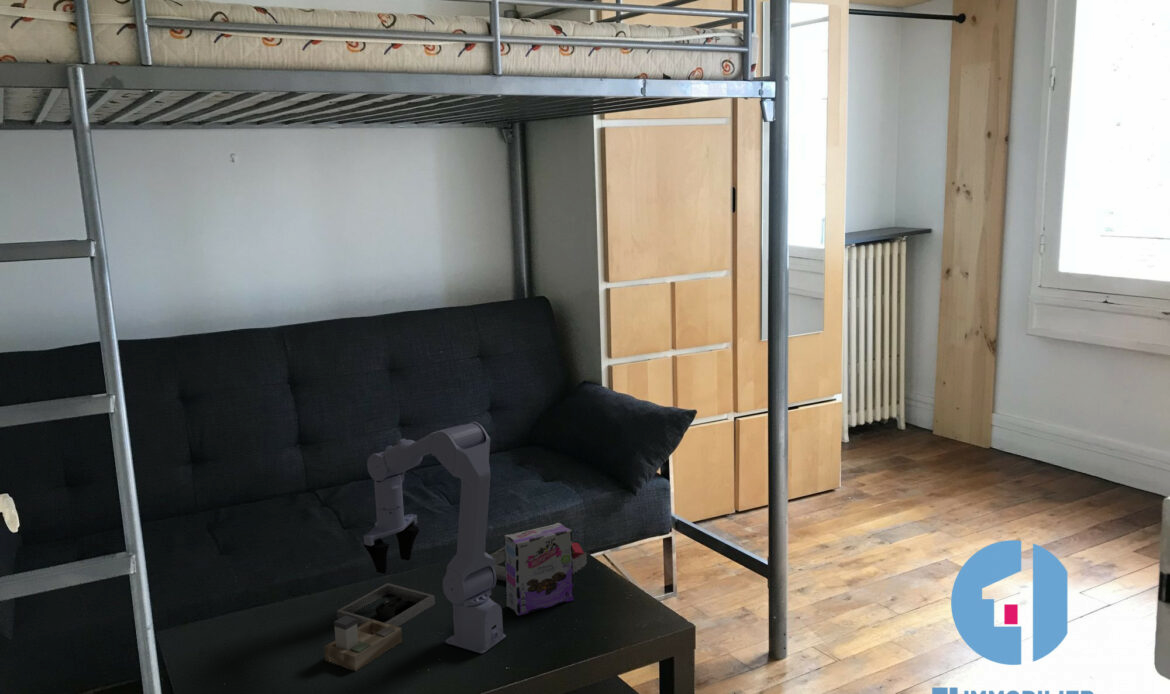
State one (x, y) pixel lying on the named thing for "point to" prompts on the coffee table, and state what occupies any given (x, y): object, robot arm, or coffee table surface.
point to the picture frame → (422, 598)
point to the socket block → (365, 645)
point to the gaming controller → (393, 607)
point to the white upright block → (346, 632)
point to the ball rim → (500, 570)
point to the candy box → (538, 568)
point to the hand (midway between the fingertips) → (393, 565)
